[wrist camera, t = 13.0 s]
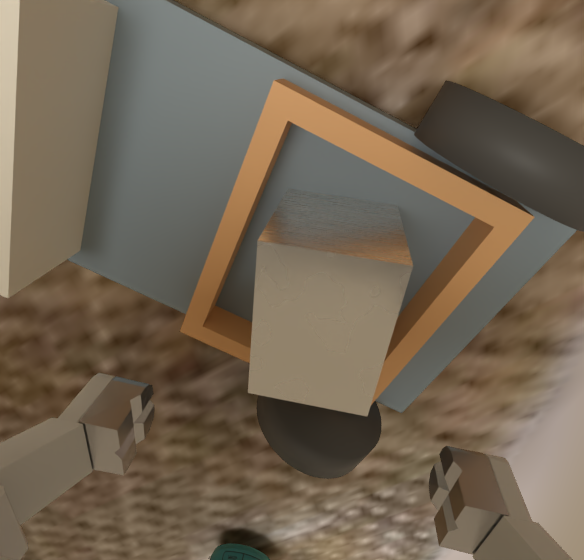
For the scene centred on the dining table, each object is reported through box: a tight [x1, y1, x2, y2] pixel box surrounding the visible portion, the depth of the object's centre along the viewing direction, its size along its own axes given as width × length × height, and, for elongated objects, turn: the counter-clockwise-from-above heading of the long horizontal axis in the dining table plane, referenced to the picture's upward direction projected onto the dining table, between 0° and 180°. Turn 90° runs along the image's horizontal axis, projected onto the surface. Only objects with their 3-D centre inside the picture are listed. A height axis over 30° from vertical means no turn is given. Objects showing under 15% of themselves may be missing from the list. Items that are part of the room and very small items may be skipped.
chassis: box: [0, 0, 584, 479], centre depth 17 cm, size 18×32×7 cm, turn 66°
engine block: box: [248, 188, 413, 416], centre depth 16 cm, size 7×5×6 cm
